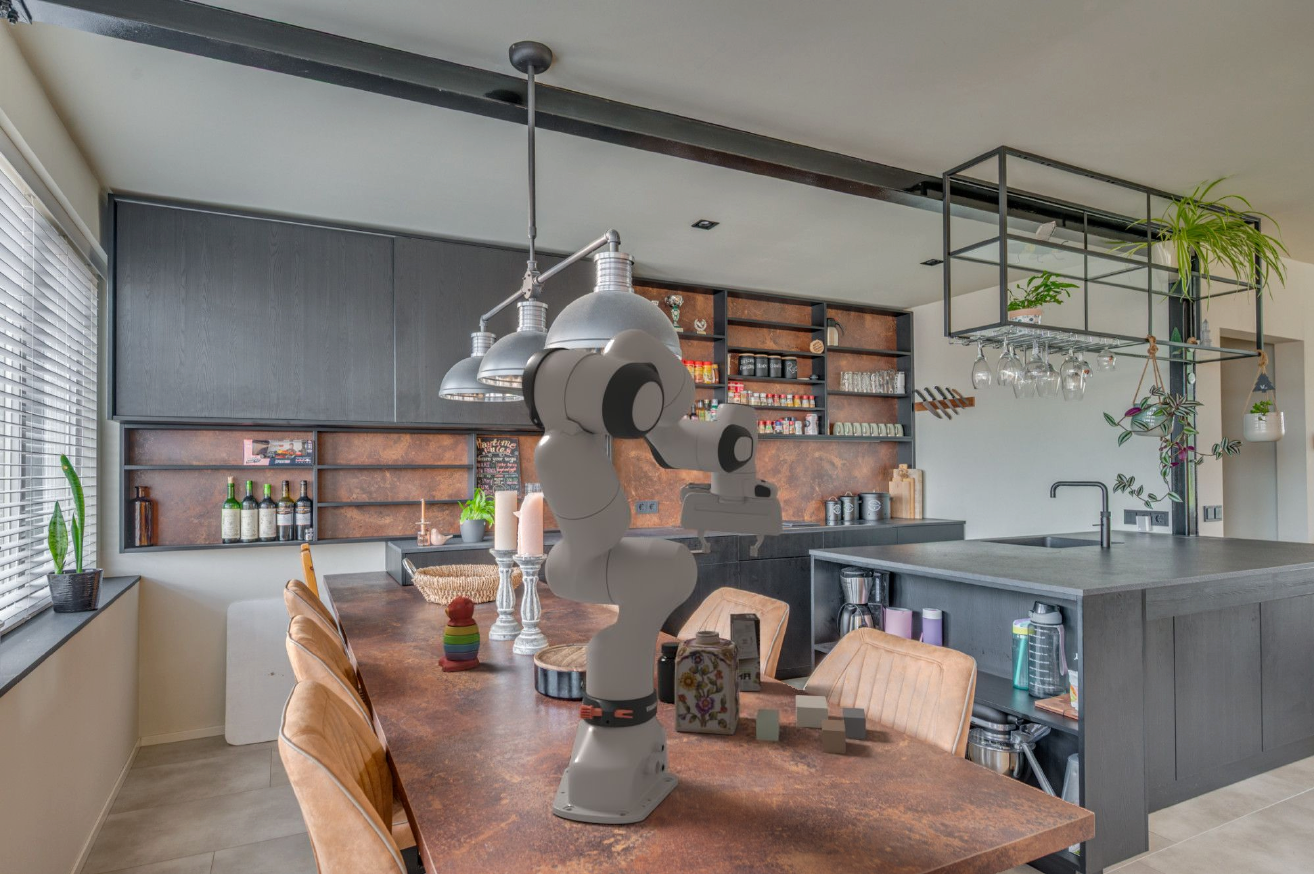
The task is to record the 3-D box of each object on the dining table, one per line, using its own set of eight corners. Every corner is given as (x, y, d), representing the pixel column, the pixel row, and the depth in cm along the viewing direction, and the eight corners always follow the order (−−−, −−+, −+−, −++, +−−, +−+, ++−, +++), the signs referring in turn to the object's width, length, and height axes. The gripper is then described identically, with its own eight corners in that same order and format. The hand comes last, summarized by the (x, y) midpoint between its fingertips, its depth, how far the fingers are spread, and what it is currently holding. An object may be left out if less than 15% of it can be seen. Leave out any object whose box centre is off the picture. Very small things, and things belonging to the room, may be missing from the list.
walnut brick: (845, 754, 131) (845, 731, 131) (822, 752, 132) (822, 729, 132) (844, 742, 137) (844, 720, 137) (822, 741, 138) (821, 719, 138)
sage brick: (778, 741, 137) (777, 719, 137) (756, 740, 138) (756, 718, 138) (779, 730, 143) (779, 709, 143) (758, 729, 144) (758, 708, 144)
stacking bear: (436, 663, 197) (437, 595, 198) (475, 659, 201) (475, 592, 202) (443, 672, 187) (444, 601, 188) (483, 668, 191) (484, 598, 192)
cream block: (828, 729, 144) (827, 708, 144) (796, 727, 145) (796, 706, 145) (825, 716, 152) (825, 696, 152) (795, 714, 153) (795, 694, 153)
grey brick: (866, 740, 138) (865, 718, 138) (843, 738, 139) (843, 716, 139) (864, 729, 144) (863, 708, 144) (843, 728, 145) (842, 707, 145)
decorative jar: (734, 736, 140) (733, 639, 141) (673, 732, 142) (673, 637, 143) (740, 716, 152) (739, 627, 153) (684, 712, 154) (683, 625, 155)
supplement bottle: (689, 694, 167) (688, 640, 167) (687, 703, 160) (687, 647, 161) (658, 694, 167) (658, 640, 168) (655, 703, 161) (655, 647, 161)
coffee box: (761, 691, 169) (760, 619, 170) (733, 691, 169) (732, 619, 170) (757, 680, 178) (756, 612, 179) (730, 680, 178) (729, 612, 179)
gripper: (678, 483, 145) (675, 553, 146) (784, 490, 142) (780, 561, 143) (682, 479, 151) (679, 546, 152) (784, 486, 148) (780, 554, 149)
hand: (729, 554), depth 148 cm, fingers open, 8 cm apart
